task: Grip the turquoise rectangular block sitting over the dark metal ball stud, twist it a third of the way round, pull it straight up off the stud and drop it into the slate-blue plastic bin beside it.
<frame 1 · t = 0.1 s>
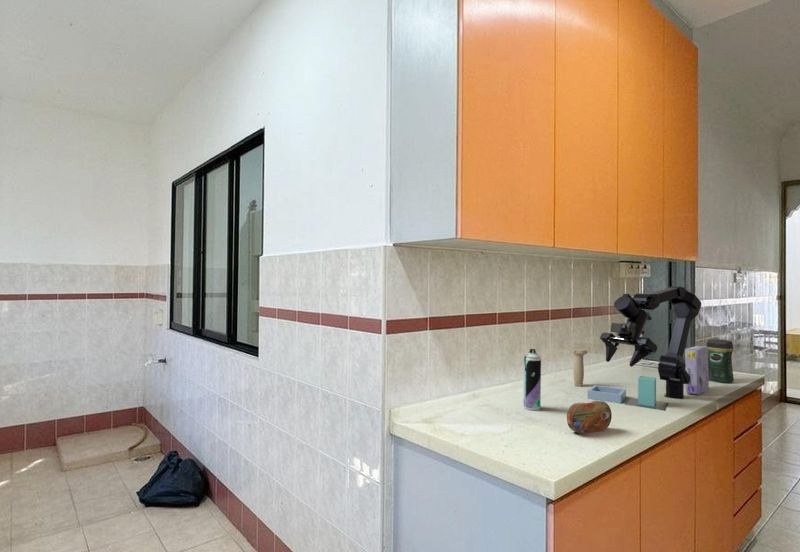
hand: (618, 363, 157), 15 cm above the worktop, tool tilted 30°, fingers open, 9 cm apart
turquoise rectangular block: (647, 403, 159), point 1 cm above the worktop, touching ball stud
handle: (578, 386, 188), on the worktop
ball stud: (646, 405, 159), on the worktop
tin: (588, 431, 130), on the worktop
bin: (606, 399, 166), on the worktop
coffee jar: (719, 381, 203), on the worktop
cake pan box: (697, 391, 183), on the worktop
spray can: (531, 408, 153), on the worktop
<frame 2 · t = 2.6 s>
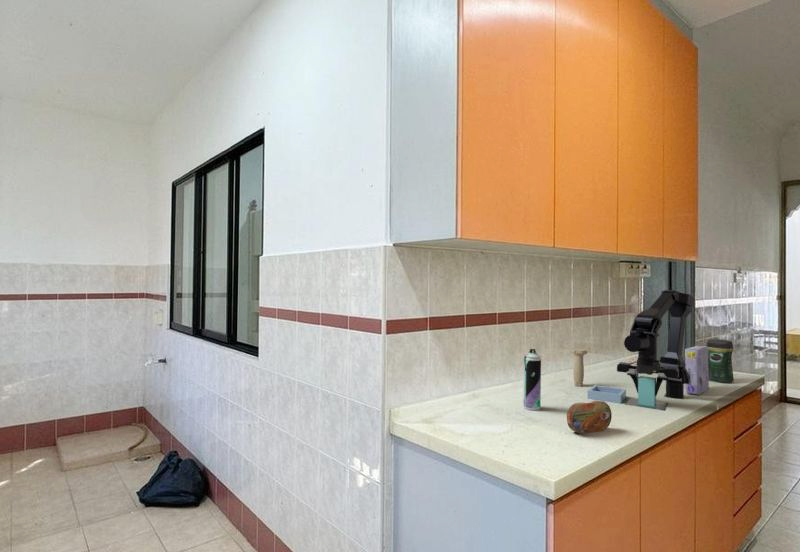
hand: (647, 394, 159), 4 cm above the worktop, tool pointing down, fingers closed on turquoise rectangular block, 5 cm apart
turquoise rectangular block: (647, 403, 159), point 1 cm above the worktop, touching ball stud, gripper
everything else where it was.
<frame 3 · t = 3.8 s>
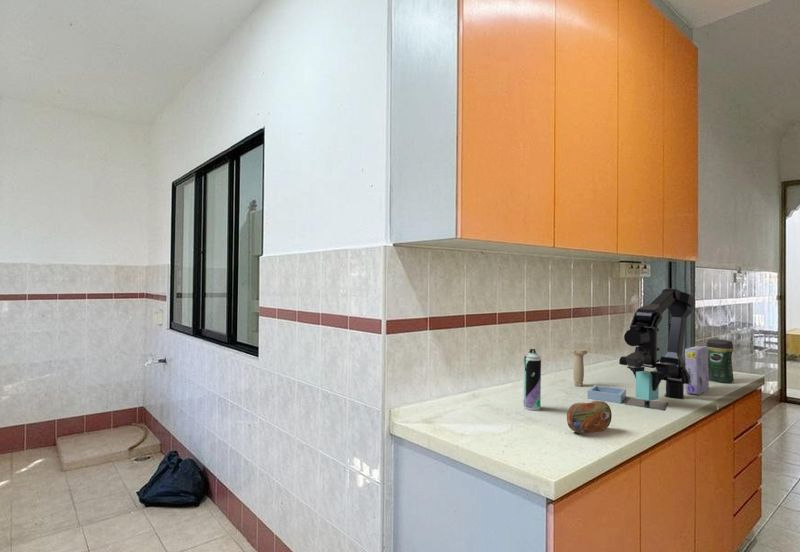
hand: (647, 389, 159), 6 cm above the worktop, tool pointing down, fingers closed on turquoise rectangular block, 5 cm apart
turquoise rectangular block: (647, 398, 159), point 3 cm above the worktop, touching gripper
everything else where it was.
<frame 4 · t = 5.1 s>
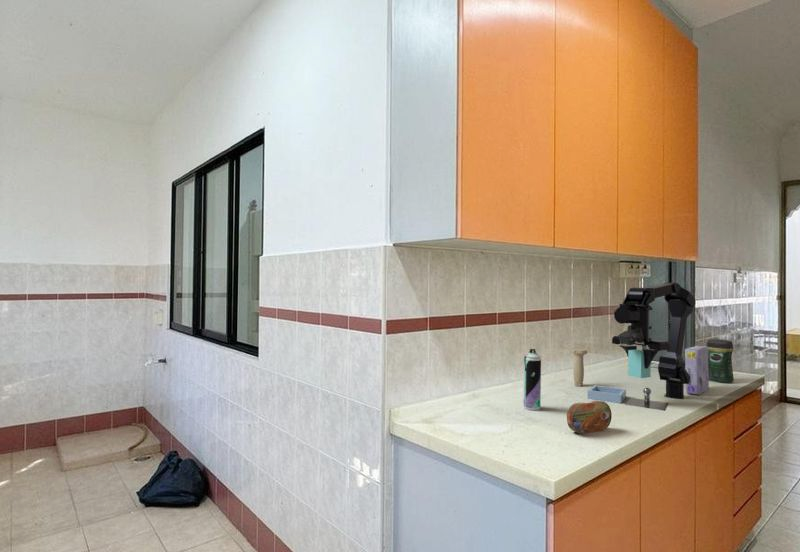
hand: (639, 367, 161), 13 cm above the worktop, tool pointing down, fingers closed on turquoise rectangular block, 5 cm apart
turquoise rectangular block: (639, 376, 160), point 10 cm above the worktop, touching gripper
everything else where it was.
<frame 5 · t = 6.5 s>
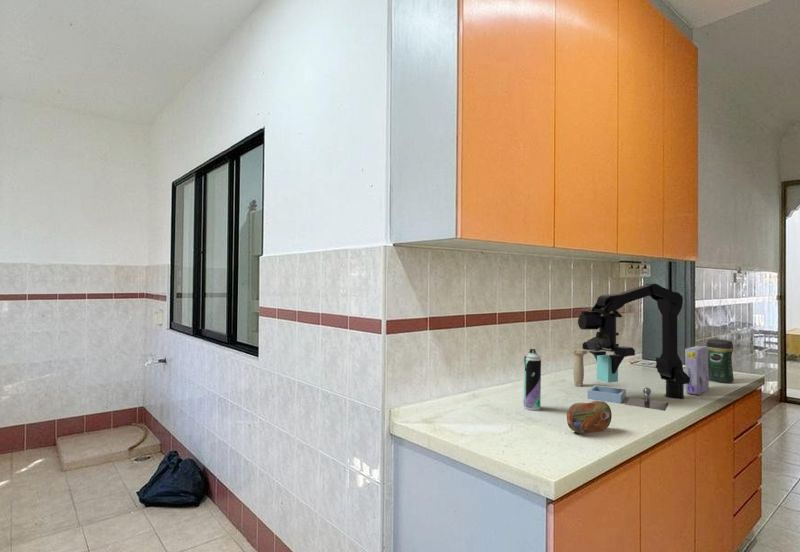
hand: (607, 372, 167), 10 cm above the worktop, tool pointing down, fingers closed on turquoise rectangular block, 5 cm apart
turquoise rectangular block: (607, 380, 167), point 7 cm above the worktop, touching gripper
everything else where it was.
when the fingers open (5 cm above the worktop, at t = 7.6 s): turquoise rectangular block drops 1 cm, resting on bin.
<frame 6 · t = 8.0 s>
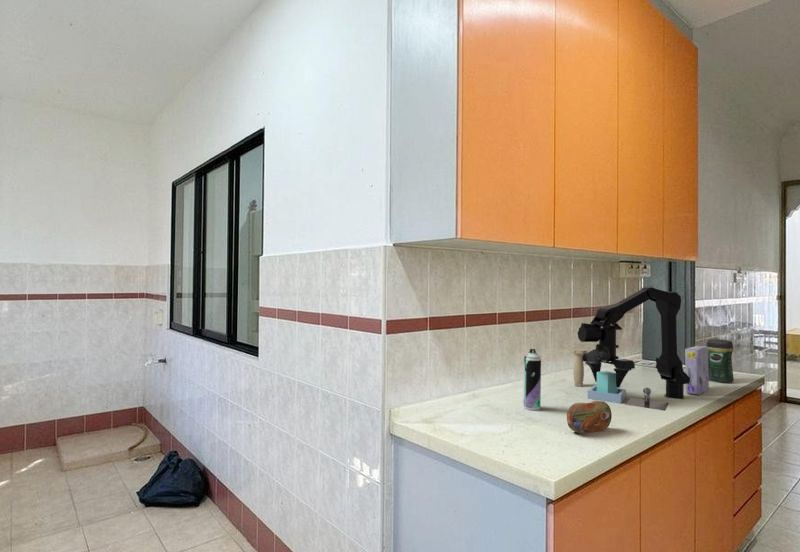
hand: (607, 384, 167), 5 cm above the worktop, tool pointing down, fingers open, 9 cm apart
turquoise rectangular block: (606, 397, 166), point 1 cm above the worktop, touching bin
everything else where it was.
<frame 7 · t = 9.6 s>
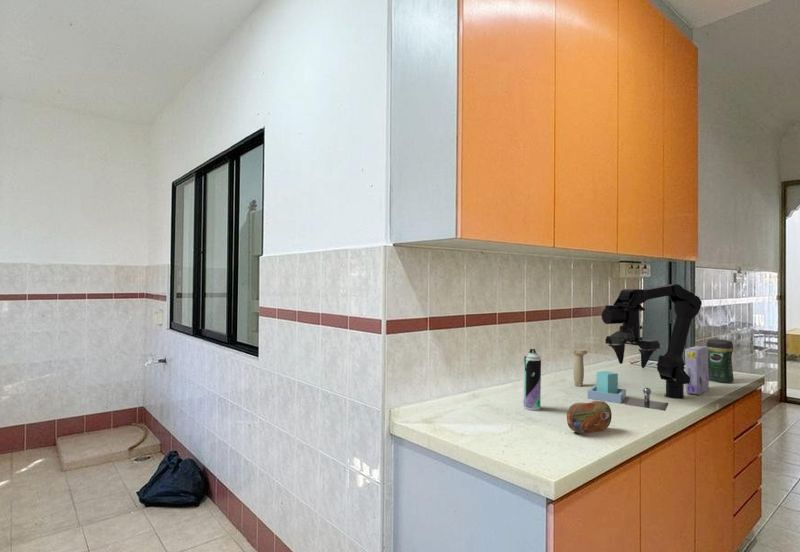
hand: (631, 365, 167), 12 cm above the worktop, tool pointing down, fingers open, 9 cm apart
nothing on the worktop moved.
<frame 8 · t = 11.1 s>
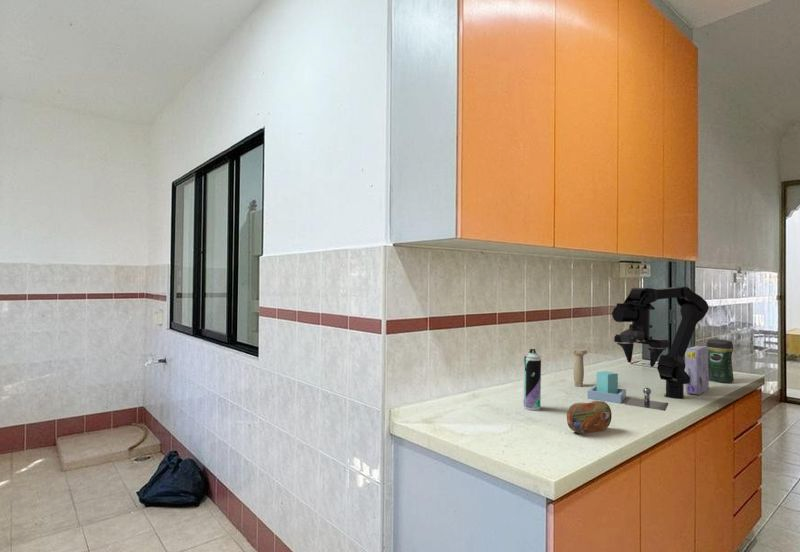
hand: (640, 364, 167), 13 cm above the worktop, tool pointing down, fingers open, 9 cm apart
nothing on the worktop moved.
at the end: turquoise rectangular block inside the target area on the bin (0.0 cm from its centre), point 0.8 cm above the bin's base; the gripper is holding nothing; turquoise rectangular block moved 13.0 cm from its start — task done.
